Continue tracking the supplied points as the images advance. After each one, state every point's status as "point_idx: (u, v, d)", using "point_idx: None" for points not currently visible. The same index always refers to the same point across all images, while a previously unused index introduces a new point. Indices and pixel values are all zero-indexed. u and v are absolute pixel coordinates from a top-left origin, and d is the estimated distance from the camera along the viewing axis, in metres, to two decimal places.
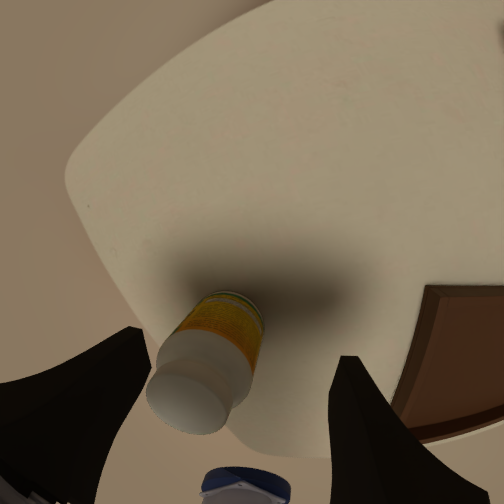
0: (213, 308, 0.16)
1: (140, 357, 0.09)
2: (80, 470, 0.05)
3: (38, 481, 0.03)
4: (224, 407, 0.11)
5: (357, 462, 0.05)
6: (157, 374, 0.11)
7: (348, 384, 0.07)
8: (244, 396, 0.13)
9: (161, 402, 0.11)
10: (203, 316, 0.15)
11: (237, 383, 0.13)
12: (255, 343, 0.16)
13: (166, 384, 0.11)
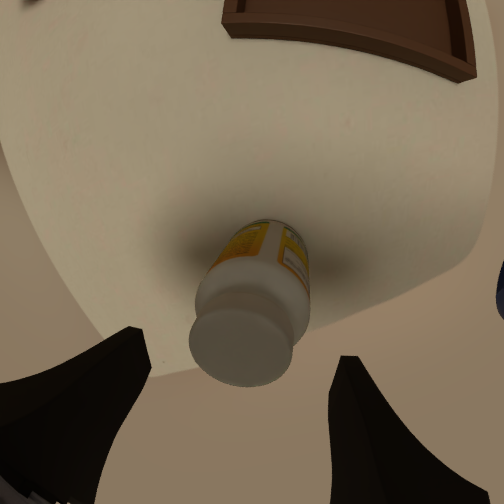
0: None
1: (140, 357, 0.09)
2: (80, 470, 0.05)
3: (38, 481, 0.03)
4: (227, 310, 0.09)
5: (357, 462, 0.05)
6: None
7: (348, 384, 0.07)
8: (273, 272, 0.11)
9: (236, 373, 0.10)
10: None
11: (243, 279, 0.11)
12: (246, 240, 0.14)
13: (206, 360, 0.10)
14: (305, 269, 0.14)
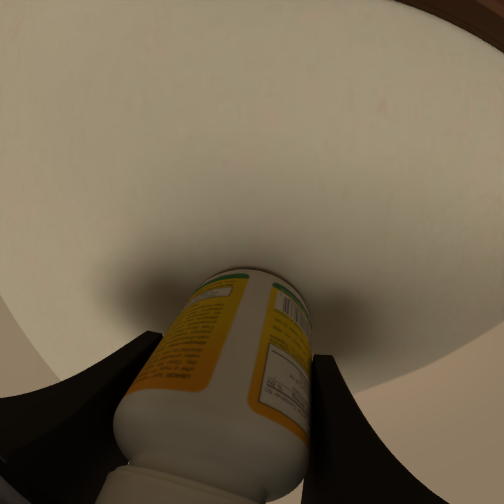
0: None
1: None
2: (102, 481, 0.05)
3: (61, 497, 0.03)
4: None
5: (320, 463, 0.05)
6: None
7: (317, 383, 0.07)
8: (236, 436, 0.04)
9: None
10: None
11: (174, 443, 0.04)
12: (198, 328, 0.07)
13: None
14: (306, 378, 0.07)
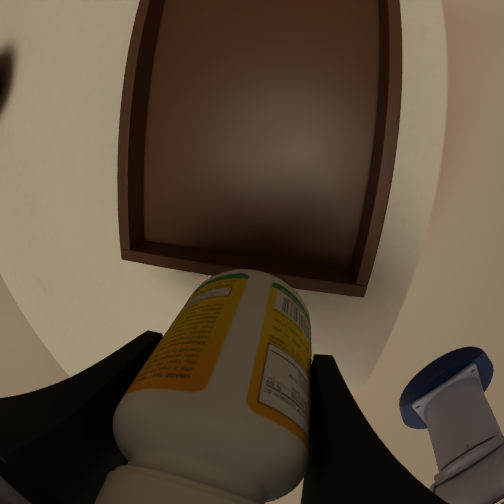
0: None
1: None
2: (102, 481, 0.05)
3: (61, 497, 0.03)
4: None
5: (320, 463, 0.05)
6: None
7: (317, 383, 0.07)
8: (235, 436, 0.04)
9: None
10: None
11: (173, 443, 0.04)
12: (197, 328, 0.07)
13: None
14: (305, 378, 0.07)
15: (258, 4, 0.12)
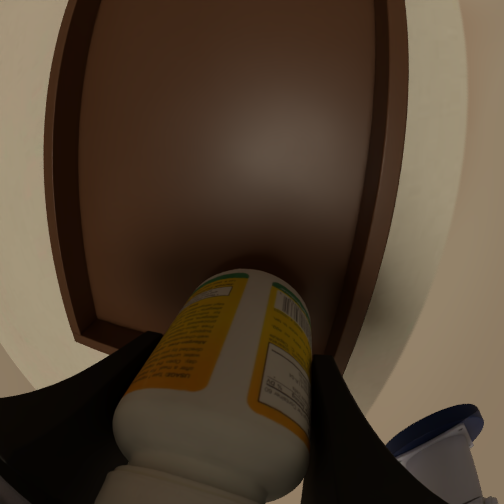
0: None
1: None
2: (102, 482, 0.05)
3: (61, 497, 0.03)
4: None
5: (320, 463, 0.05)
6: None
7: (317, 383, 0.07)
8: (236, 436, 0.04)
9: None
10: None
11: (173, 442, 0.04)
12: (197, 327, 0.07)
13: None
14: (306, 378, 0.07)
15: (201, 23, 0.09)
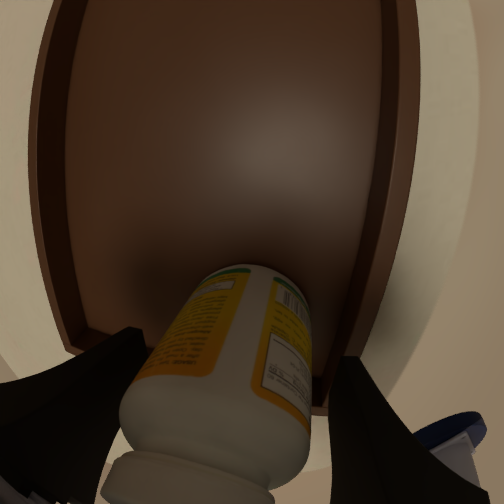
0: None
1: (140, 357, 0.09)
2: (80, 470, 0.05)
3: (38, 481, 0.03)
4: None
5: (357, 462, 0.05)
6: None
7: (348, 384, 0.07)
8: (240, 419, 0.05)
9: None
10: None
11: (180, 426, 0.05)
12: (202, 318, 0.08)
13: None
14: (306, 367, 0.07)
15: (192, 13, 0.08)
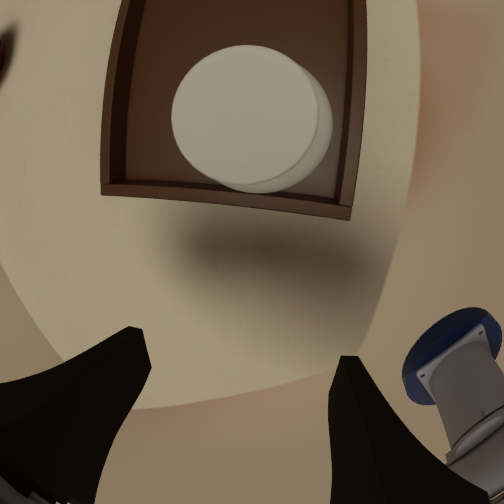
0: None
1: (140, 357, 0.09)
2: (80, 470, 0.05)
3: (38, 481, 0.03)
4: (228, 48, 0.06)
5: (357, 462, 0.05)
6: None
7: (348, 384, 0.07)
8: None
9: (237, 154, 0.07)
10: None
11: None
12: None
13: (192, 136, 0.07)
14: None
15: None
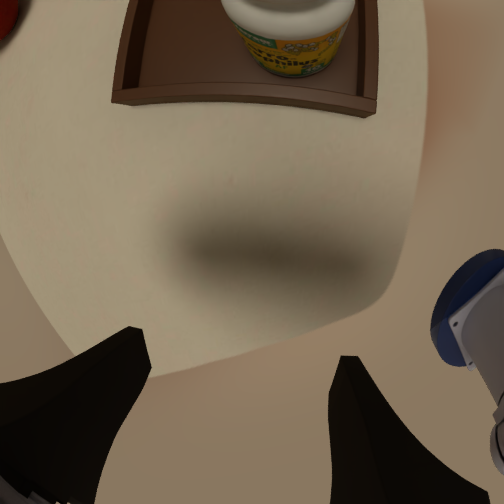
0: None
1: (140, 357, 0.09)
2: (80, 470, 0.05)
3: (38, 481, 0.03)
4: None
5: (357, 462, 0.05)
6: None
7: (348, 384, 0.07)
8: None
9: None
10: None
11: None
12: None
13: None
14: None
15: None
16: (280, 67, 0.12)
